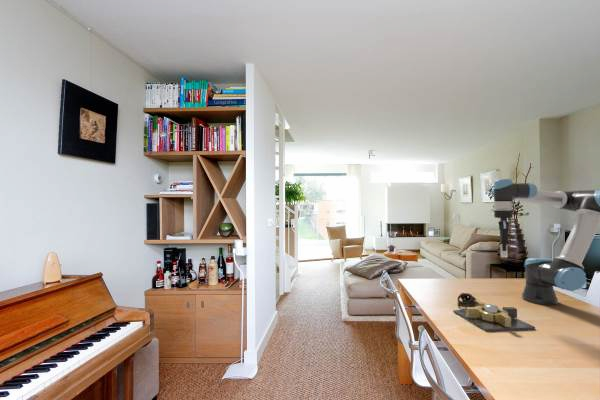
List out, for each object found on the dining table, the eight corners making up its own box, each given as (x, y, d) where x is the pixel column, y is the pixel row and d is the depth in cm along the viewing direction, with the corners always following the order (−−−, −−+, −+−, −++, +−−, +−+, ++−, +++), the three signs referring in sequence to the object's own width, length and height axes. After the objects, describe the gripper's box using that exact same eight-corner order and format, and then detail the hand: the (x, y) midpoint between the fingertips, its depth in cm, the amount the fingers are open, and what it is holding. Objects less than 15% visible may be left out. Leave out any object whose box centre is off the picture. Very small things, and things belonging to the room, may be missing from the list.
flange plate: (495, 310, 143) (495, 297, 144) (535, 329, 121) (534, 313, 122) (453, 312, 142) (453, 298, 142) (485, 331, 120) (485, 315, 120)
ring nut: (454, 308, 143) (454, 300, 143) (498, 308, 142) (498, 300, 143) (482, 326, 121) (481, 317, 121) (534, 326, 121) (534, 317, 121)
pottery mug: (484, 311, 143) (478, 298, 142) (466, 319, 145) (460, 306, 143) (471, 298, 155) (466, 285, 153) (454, 305, 156) (449, 293, 155)
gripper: (514, 210, 137) (515, 260, 137) (510, 209, 149) (511, 255, 148) (495, 210, 141) (496, 258, 141) (493, 209, 152) (494, 254, 152)
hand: (504, 257), depth 144 cm, fingers closed
